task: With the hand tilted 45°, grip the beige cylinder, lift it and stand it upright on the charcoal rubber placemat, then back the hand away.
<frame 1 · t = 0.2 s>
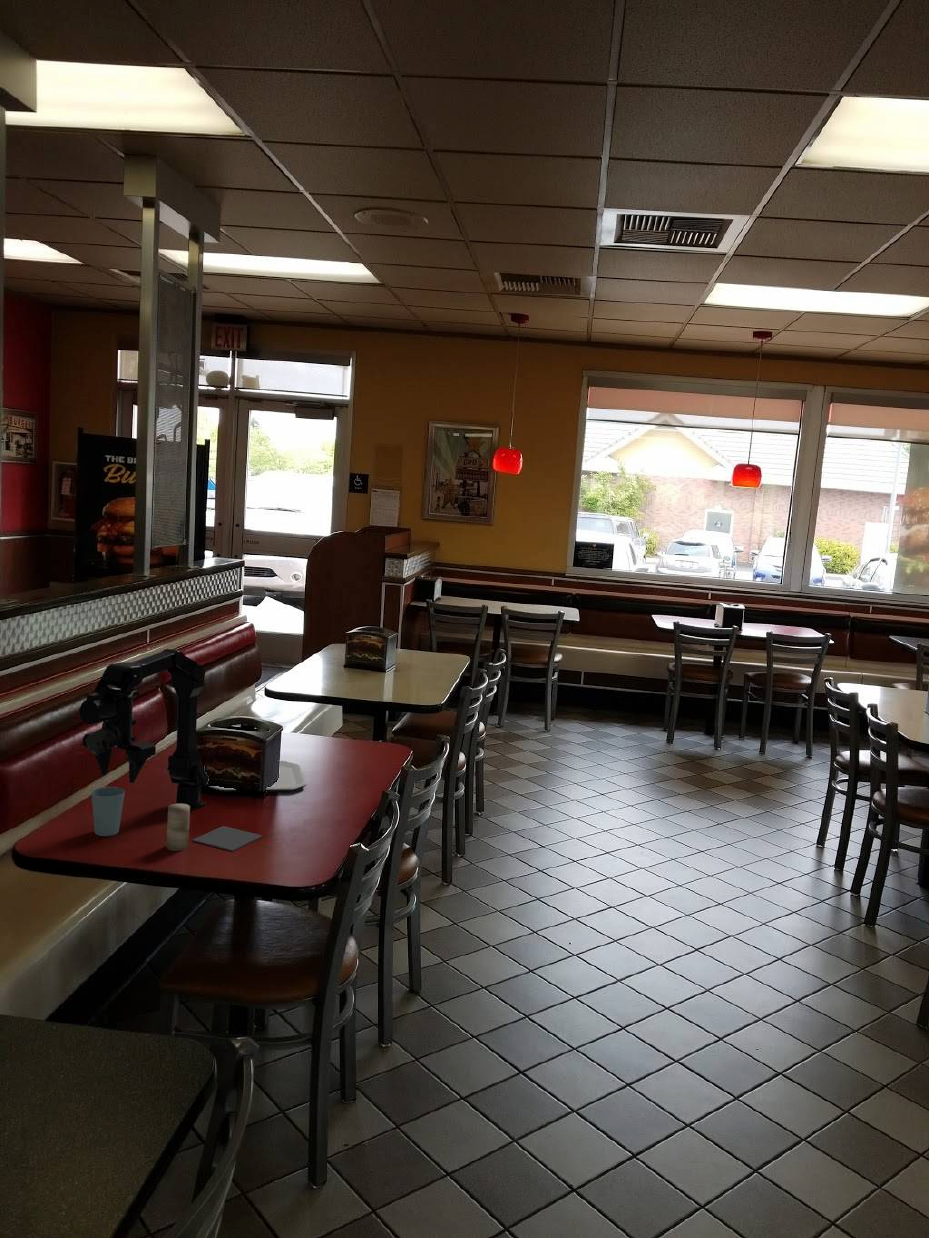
hand: (117, 778, 231), 14 cm above the table, tool pointing down, fingers open, 9 cm apart
beige cylinder: (177, 847, 228), on the table
placemat: (227, 839, 236), on the table
plate: (254, 781, 285), on the table
cup: (106, 833, 234), on the table
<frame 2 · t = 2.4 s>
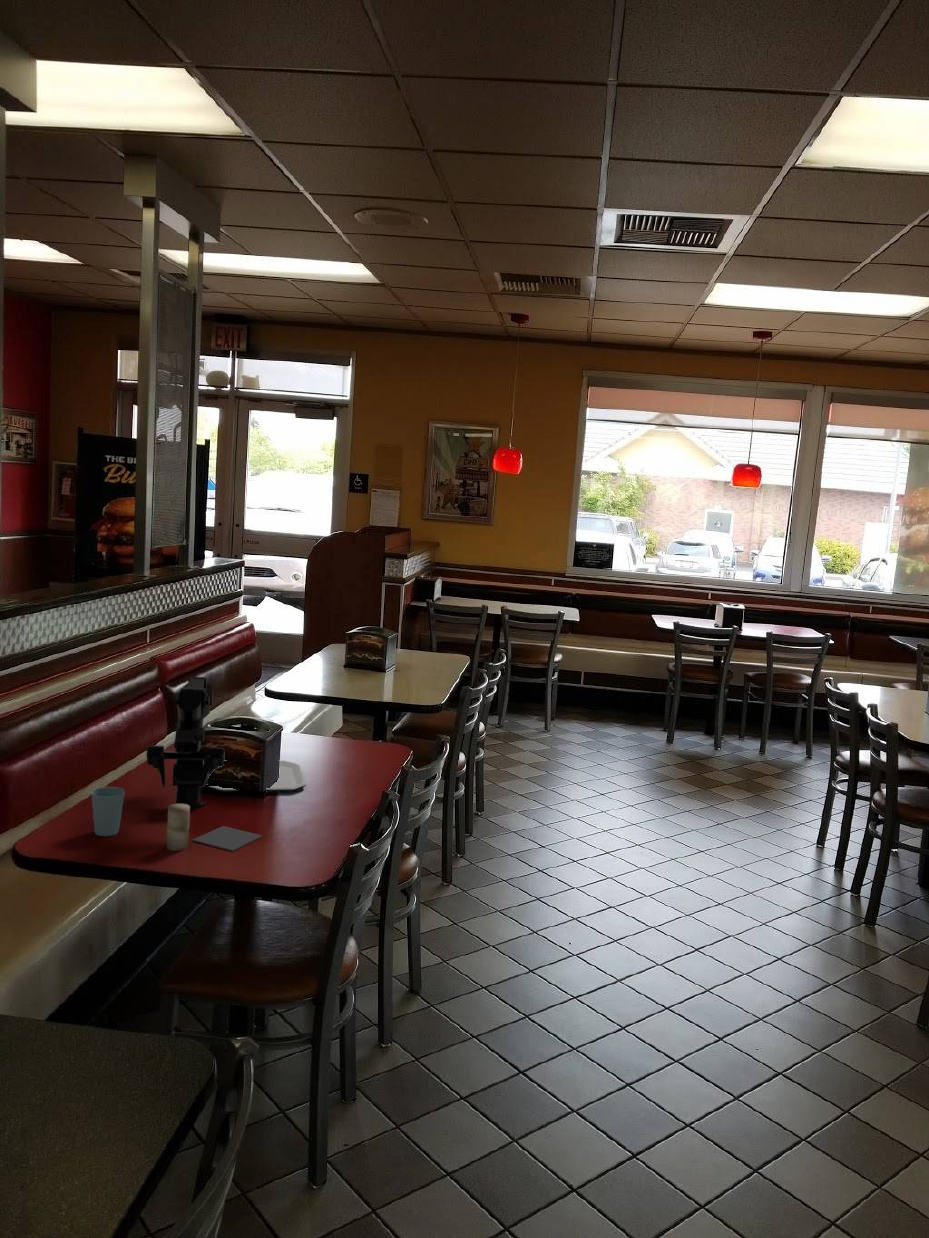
hand: (182, 786, 235), 12 cm above the table, tool tilted 45°, fingers open, 9 cm apart
nothing on the table moved.
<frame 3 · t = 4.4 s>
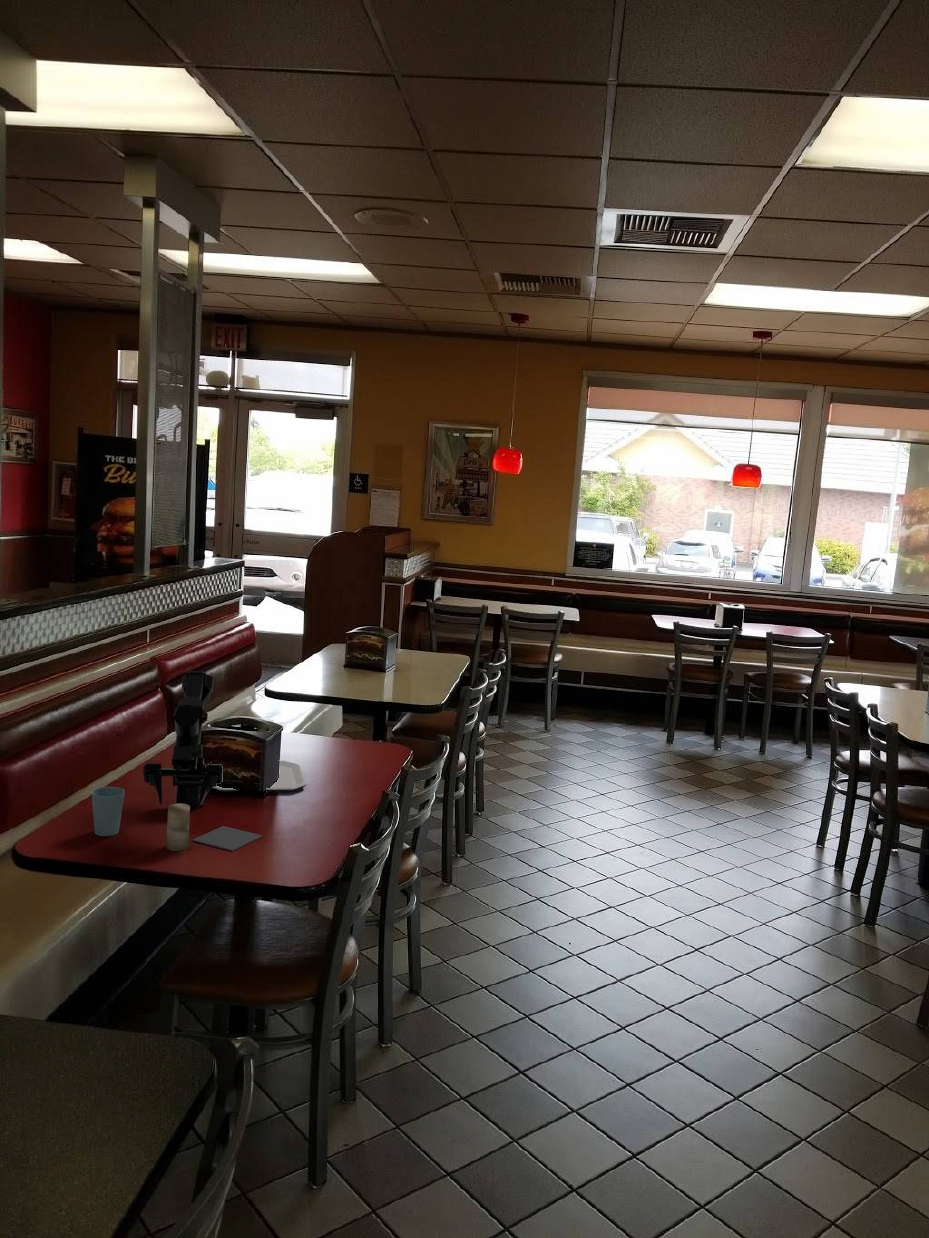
hand: (180, 804, 230), 10 cm above the table, tool tilted 45°, fingers open, 9 cm apart
nothing on the table moved.
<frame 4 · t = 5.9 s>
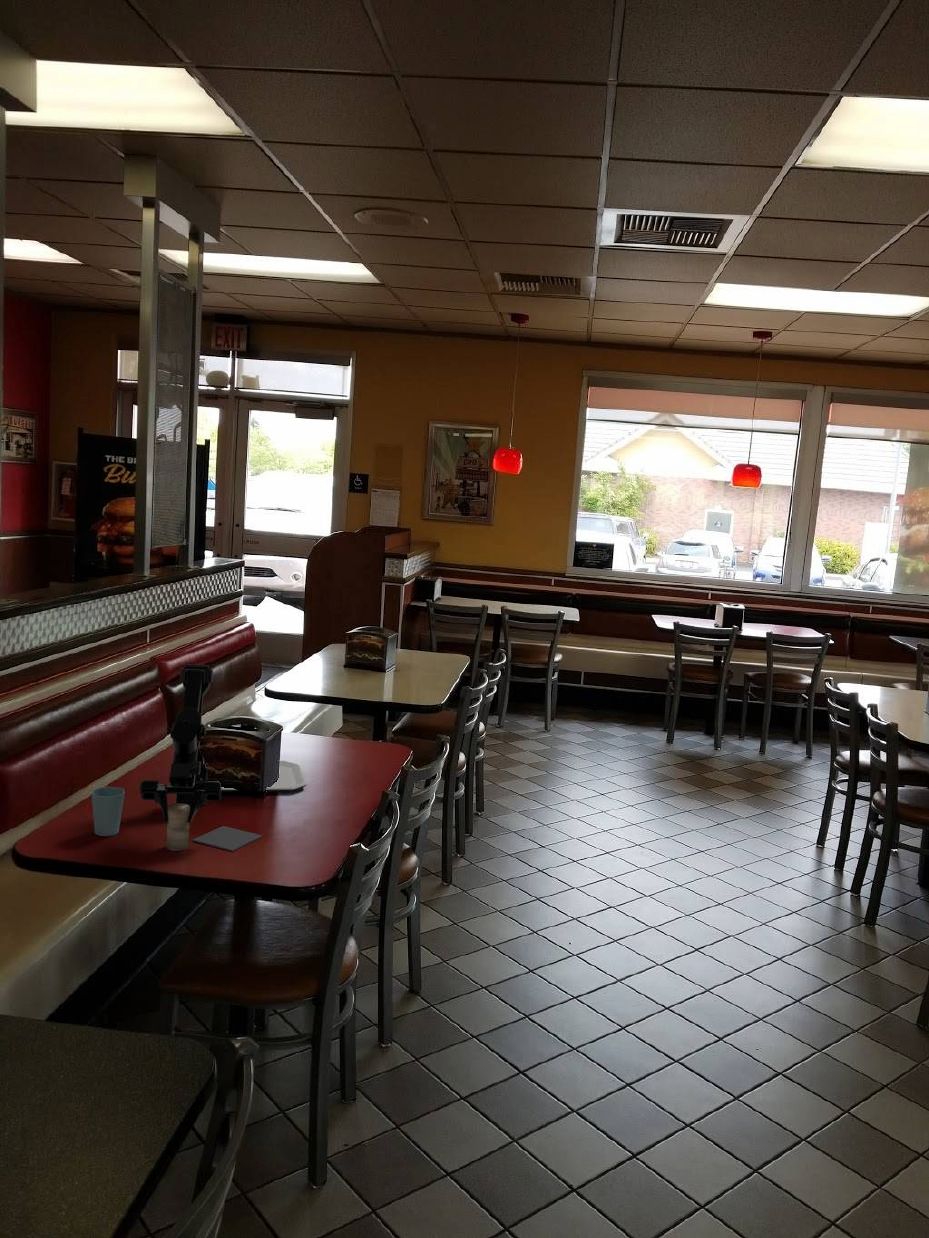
hand: (177, 822, 226), 7 cm above the table, tool tilted 45°, fingers closed on beige cylinder, 5 cm apart
beige cylinder: (177, 846, 228), on the table, touching gripper
everything else where it was.
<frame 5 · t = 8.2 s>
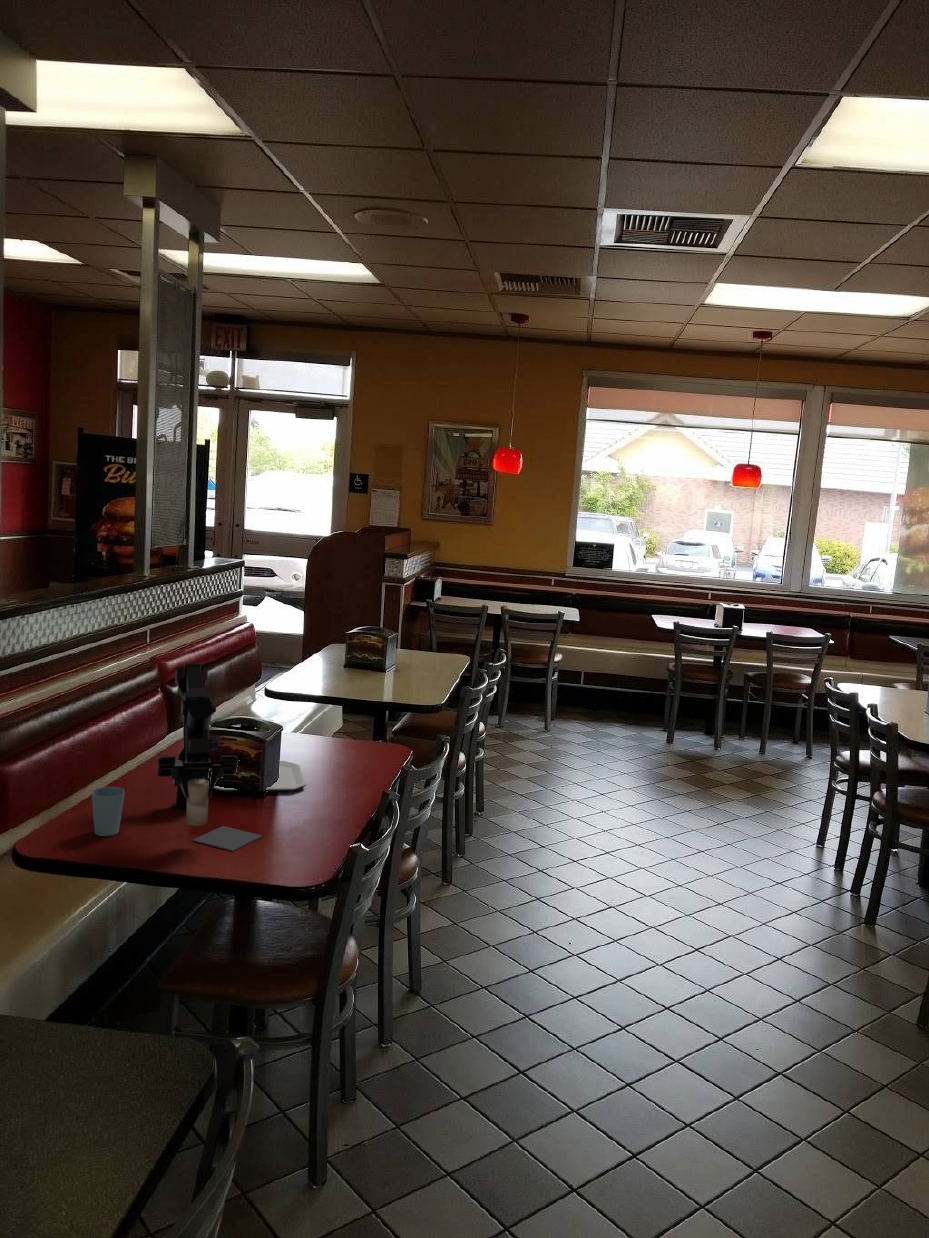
hand: (198, 797, 228), 12 cm above the table, tool tilted 45°, fingers closed on beige cylinder, 5 cm apart
beige cylinder: (196, 821, 230), point 6 cm above the table, touching gripper
everything else where it was.
when the fingers open (8 cm above the table, at t = 10.5 s): beige cylinder drops 1 cm, resting on placemat.
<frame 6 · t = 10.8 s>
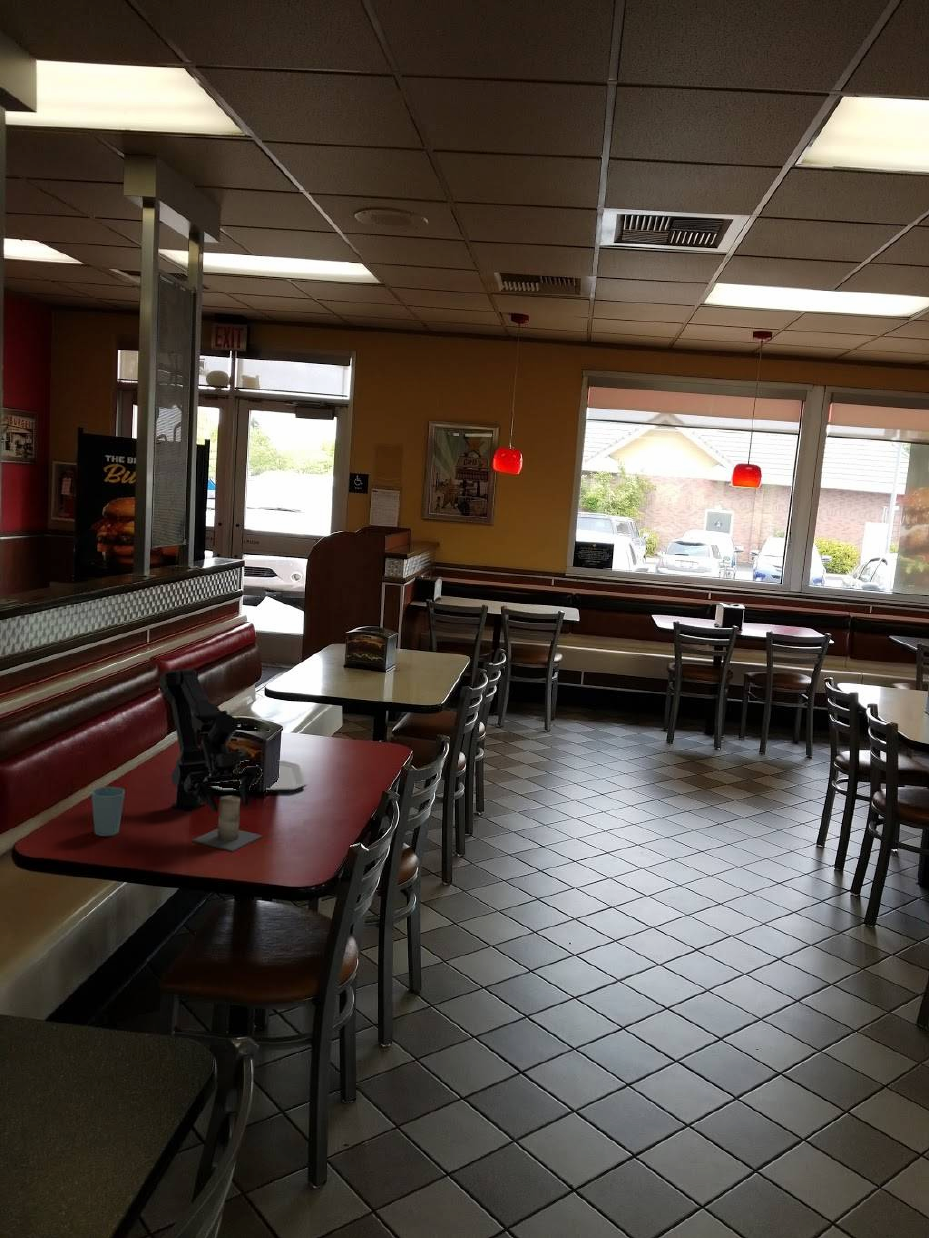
hand: (231, 809, 234), 8 cm above the table, tool tilted 45°, fingers open, 8 cm apart
beige cylinder: (227, 837, 236), resting on placemat
everything else where it was.
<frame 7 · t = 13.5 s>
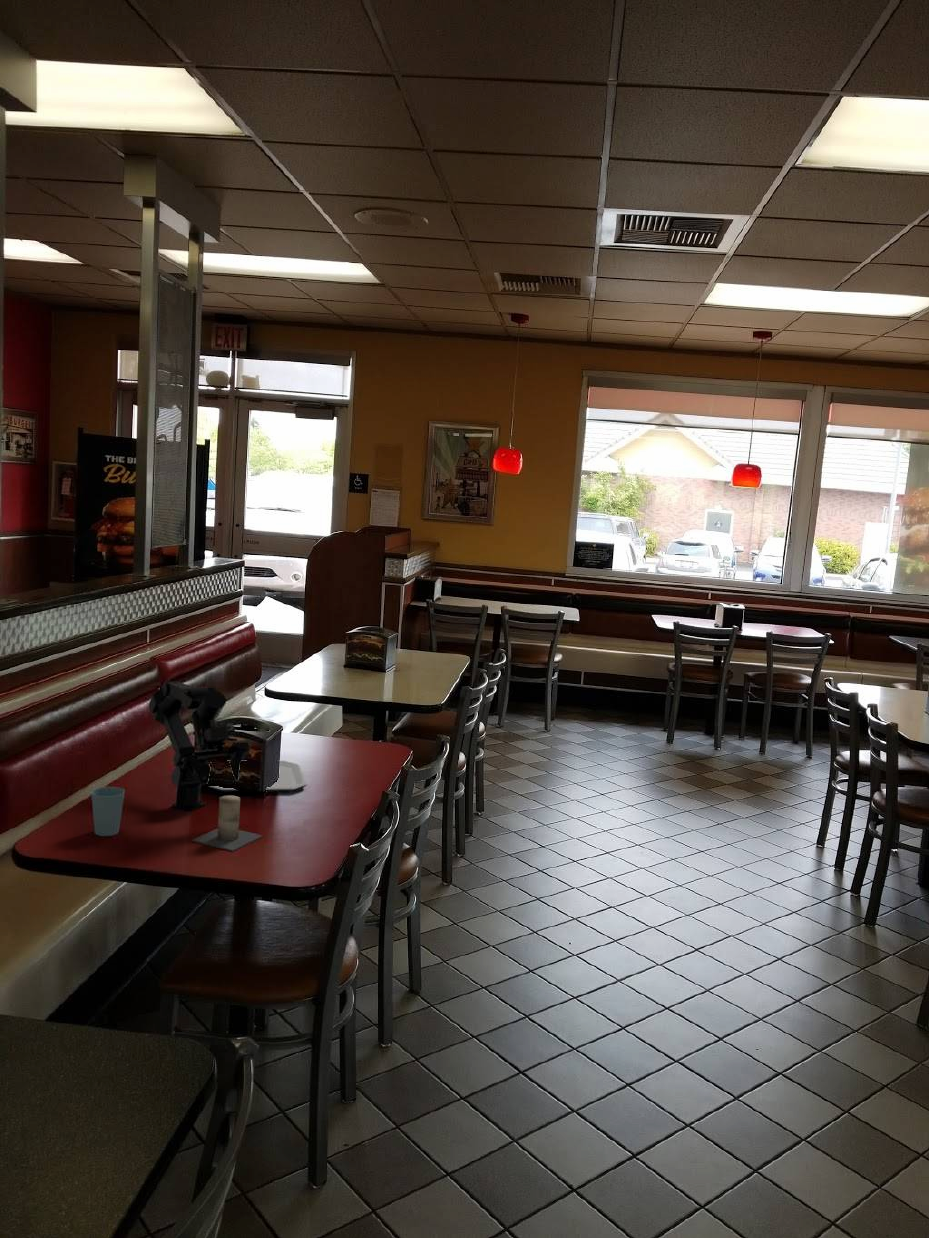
hand: (220, 782, 240), 13 cm above the table, tool tilted 45°, fingers open, 9 cm apart
nothing on the table moved.
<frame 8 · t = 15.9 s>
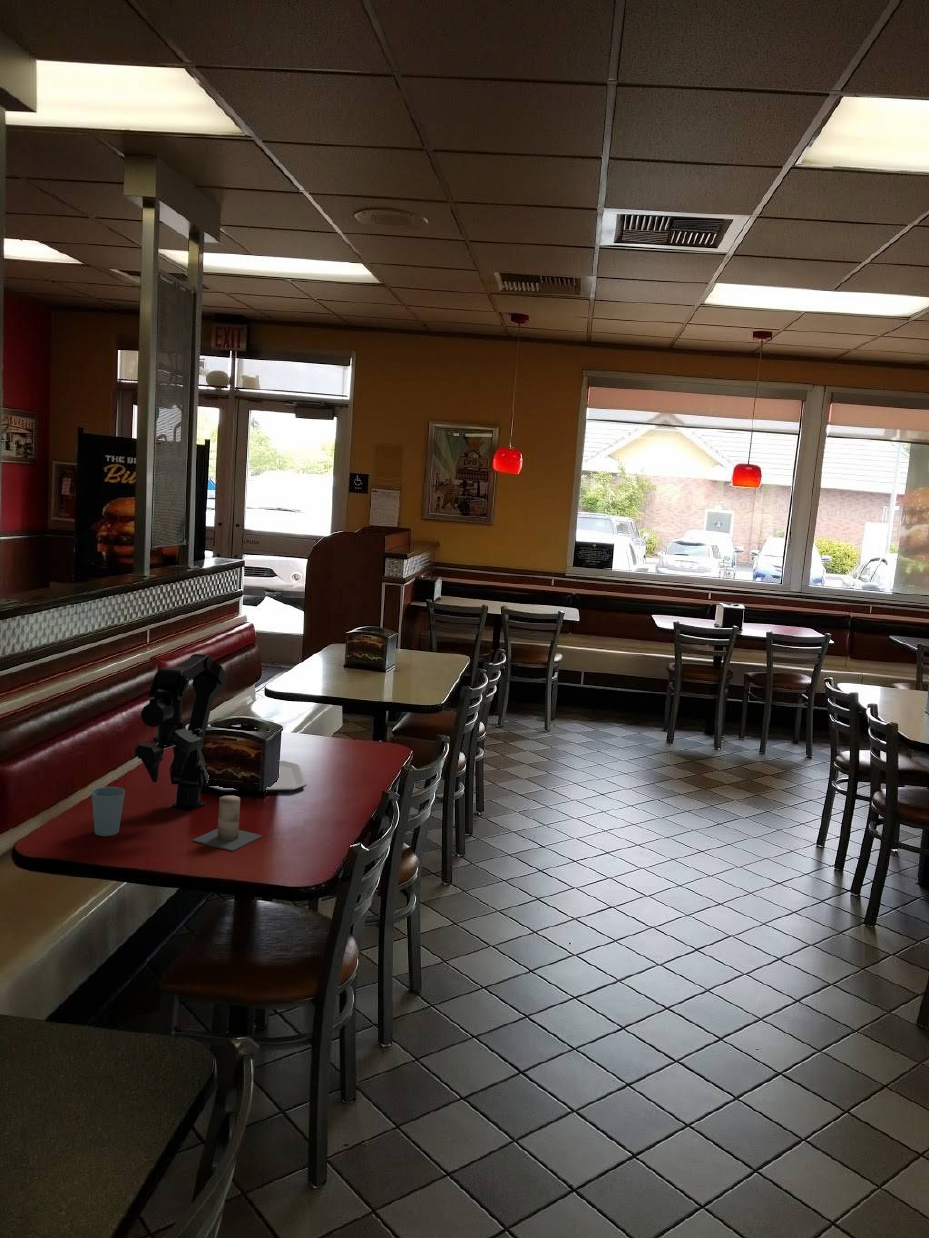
hand: (167, 777, 242), 12 cm above the table, tool pointing down, fingers open, 9 cm apart
nothing on the table moved.
at the end: beige cylinder inside the target area on the placemat (0.1 cm from its centre), point 0.4 cm above the placemat's base; beige cylinder tilted 0°; the gripper is holding nothing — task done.
